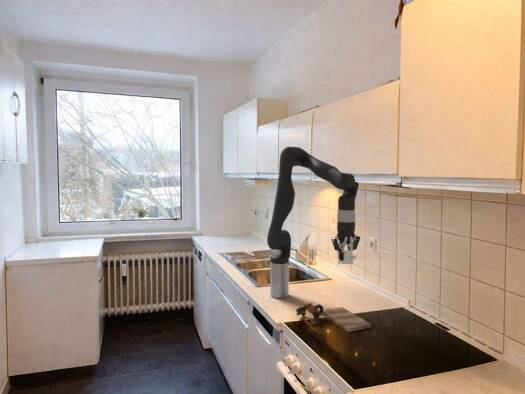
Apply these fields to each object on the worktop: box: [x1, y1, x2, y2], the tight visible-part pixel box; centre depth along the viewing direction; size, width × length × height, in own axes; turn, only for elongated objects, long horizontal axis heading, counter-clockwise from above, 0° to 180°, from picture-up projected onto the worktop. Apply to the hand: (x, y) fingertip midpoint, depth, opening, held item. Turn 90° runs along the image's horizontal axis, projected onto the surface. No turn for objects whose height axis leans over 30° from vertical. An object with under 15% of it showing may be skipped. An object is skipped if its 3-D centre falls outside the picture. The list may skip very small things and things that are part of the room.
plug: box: [336, 249, 357, 265], centre depth 161 cm, size 11×4×6 cm, turn 23°
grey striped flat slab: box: [321, 306, 372, 333], centre depth 160 cm, size 20×11×2 cm, turn 23°
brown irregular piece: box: [295, 302, 324, 325], centre depth 161 cm, size 12×10×8 cm
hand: (345, 259), depth 162 cm, fingers closed on plug, 3 cm apart
